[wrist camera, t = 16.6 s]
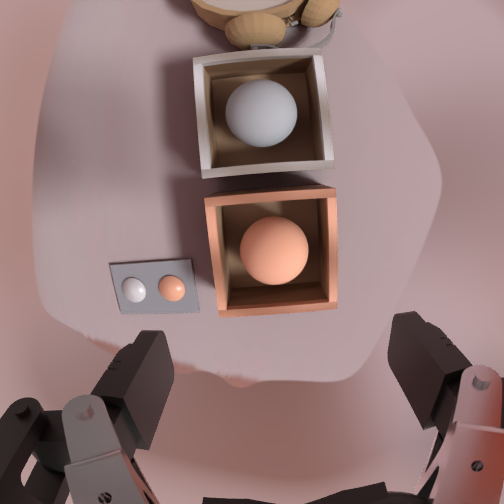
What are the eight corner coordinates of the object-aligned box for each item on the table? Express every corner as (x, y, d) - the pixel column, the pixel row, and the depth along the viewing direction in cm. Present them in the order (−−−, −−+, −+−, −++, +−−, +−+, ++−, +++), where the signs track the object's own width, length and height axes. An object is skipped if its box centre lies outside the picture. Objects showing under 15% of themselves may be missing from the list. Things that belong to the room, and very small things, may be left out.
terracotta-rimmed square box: (214, 192, 24) (204, 198, 20) (322, 184, 24) (335, 188, 19) (226, 293, 26) (219, 317, 22) (325, 285, 26) (337, 308, 21)
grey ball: (228, 92, 21) (216, 74, 17) (291, 87, 21) (295, 67, 16) (233, 152, 23) (222, 148, 18) (297, 146, 22) (303, 141, 18)
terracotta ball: (239, 214, 24) (233, 226, 19) (302, 209, 24) (312, 220, 19) (245, 273, 25) (241, 298, 21) (304, 268, 25) (314, 292, 20)
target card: (111, 264, 26) (108, 266, 26) (191, 258, 26) (190, 260, 25) (122, 312, 27) (120, 314, 27) (199, 311, 27) (198, 313, 26)
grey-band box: (204, 76, 21) (192, 57, 17) (310, 68, 21) (320, 48, 16) (213, 177, 24) (202, 178, 19) (321, 168, 23) (334, 169, 19)
